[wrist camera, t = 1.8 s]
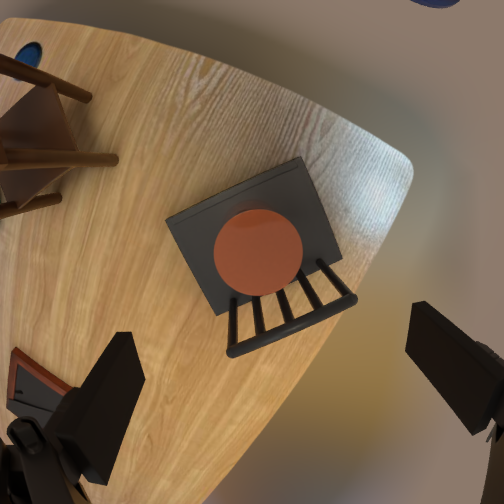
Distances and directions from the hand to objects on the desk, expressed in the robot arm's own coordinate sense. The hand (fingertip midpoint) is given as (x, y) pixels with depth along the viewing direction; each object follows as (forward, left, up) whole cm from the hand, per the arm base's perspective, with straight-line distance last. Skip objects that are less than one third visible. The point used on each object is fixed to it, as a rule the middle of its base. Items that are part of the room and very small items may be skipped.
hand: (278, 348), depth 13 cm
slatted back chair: (0, +1, -26) cm, 26 cm away
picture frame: (+49, +16, -26) cm, 58 cm away
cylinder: (0, 0, -25) cm, 25 cm away
